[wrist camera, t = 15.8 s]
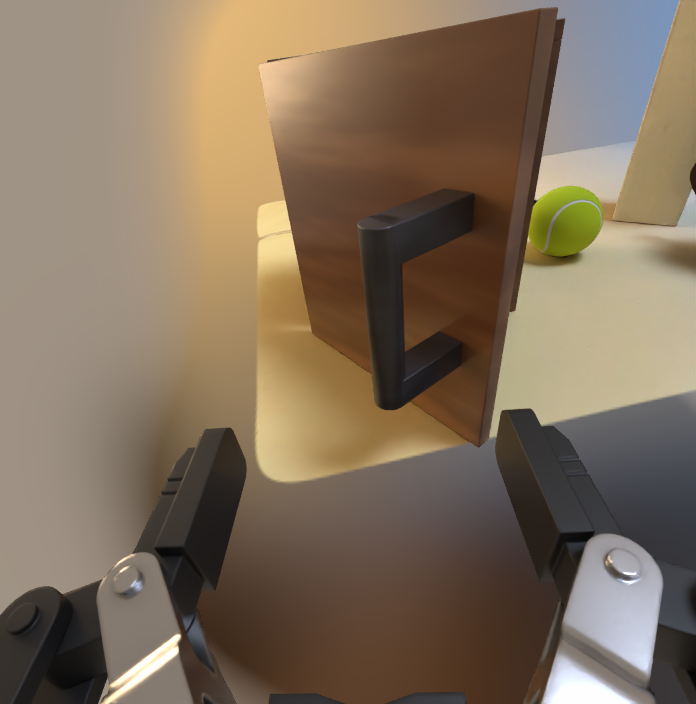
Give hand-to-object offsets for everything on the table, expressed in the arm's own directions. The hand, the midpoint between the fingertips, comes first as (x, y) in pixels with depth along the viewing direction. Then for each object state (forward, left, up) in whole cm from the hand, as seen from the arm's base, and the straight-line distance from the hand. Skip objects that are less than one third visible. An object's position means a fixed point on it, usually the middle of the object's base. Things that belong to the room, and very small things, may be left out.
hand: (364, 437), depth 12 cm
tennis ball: (+21, +33, -10) cm, 41 cm away
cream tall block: (+36, +42, -10) cm, 57 cm away
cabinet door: (-1, +13, -10) cm, 16 cm away
